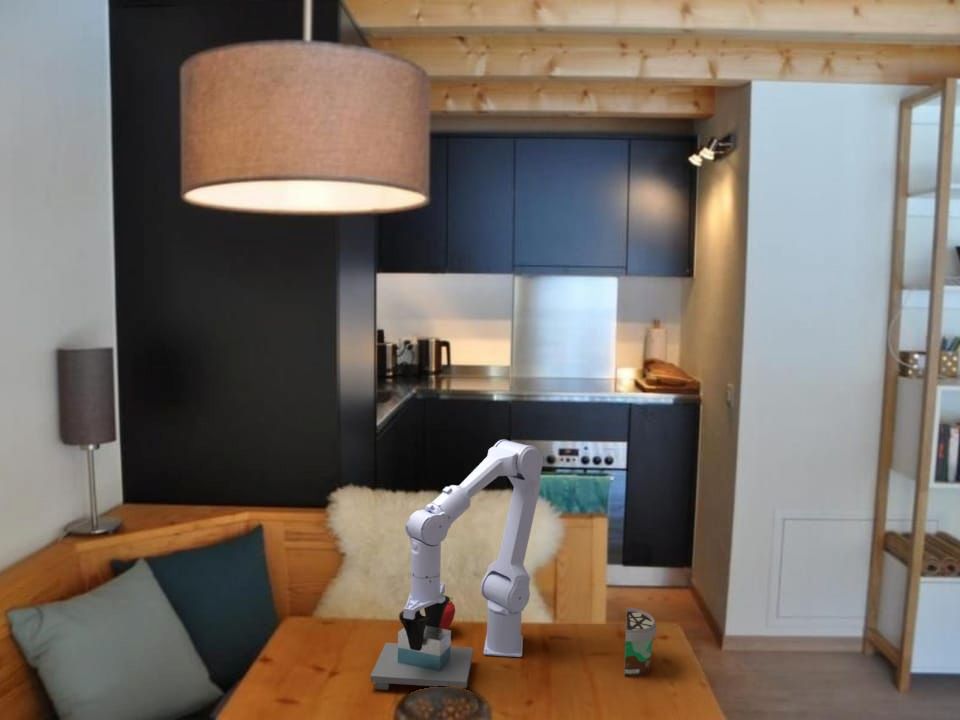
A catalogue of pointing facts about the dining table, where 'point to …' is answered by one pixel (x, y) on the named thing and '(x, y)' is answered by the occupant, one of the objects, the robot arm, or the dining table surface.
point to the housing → (426, 649)
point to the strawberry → (448, 615)
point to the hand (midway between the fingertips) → (424, 641)
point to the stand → (421, 670)
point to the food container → (638, 642)
